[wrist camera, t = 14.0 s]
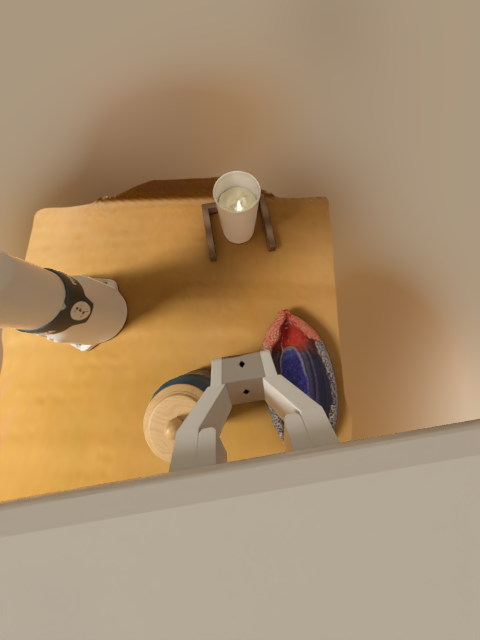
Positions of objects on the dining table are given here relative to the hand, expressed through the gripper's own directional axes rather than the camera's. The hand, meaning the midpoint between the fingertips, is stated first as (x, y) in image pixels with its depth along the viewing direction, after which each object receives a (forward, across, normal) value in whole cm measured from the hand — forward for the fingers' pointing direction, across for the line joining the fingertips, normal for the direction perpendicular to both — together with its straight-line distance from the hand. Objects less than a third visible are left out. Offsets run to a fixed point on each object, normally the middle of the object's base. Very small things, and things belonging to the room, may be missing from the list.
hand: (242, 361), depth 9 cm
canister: (+18, +12, +30) cm, 37 cm away
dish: (+19, -11, +29) cm, 36 cm away
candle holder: (+47, -4, +1) cm, 47 cm away
